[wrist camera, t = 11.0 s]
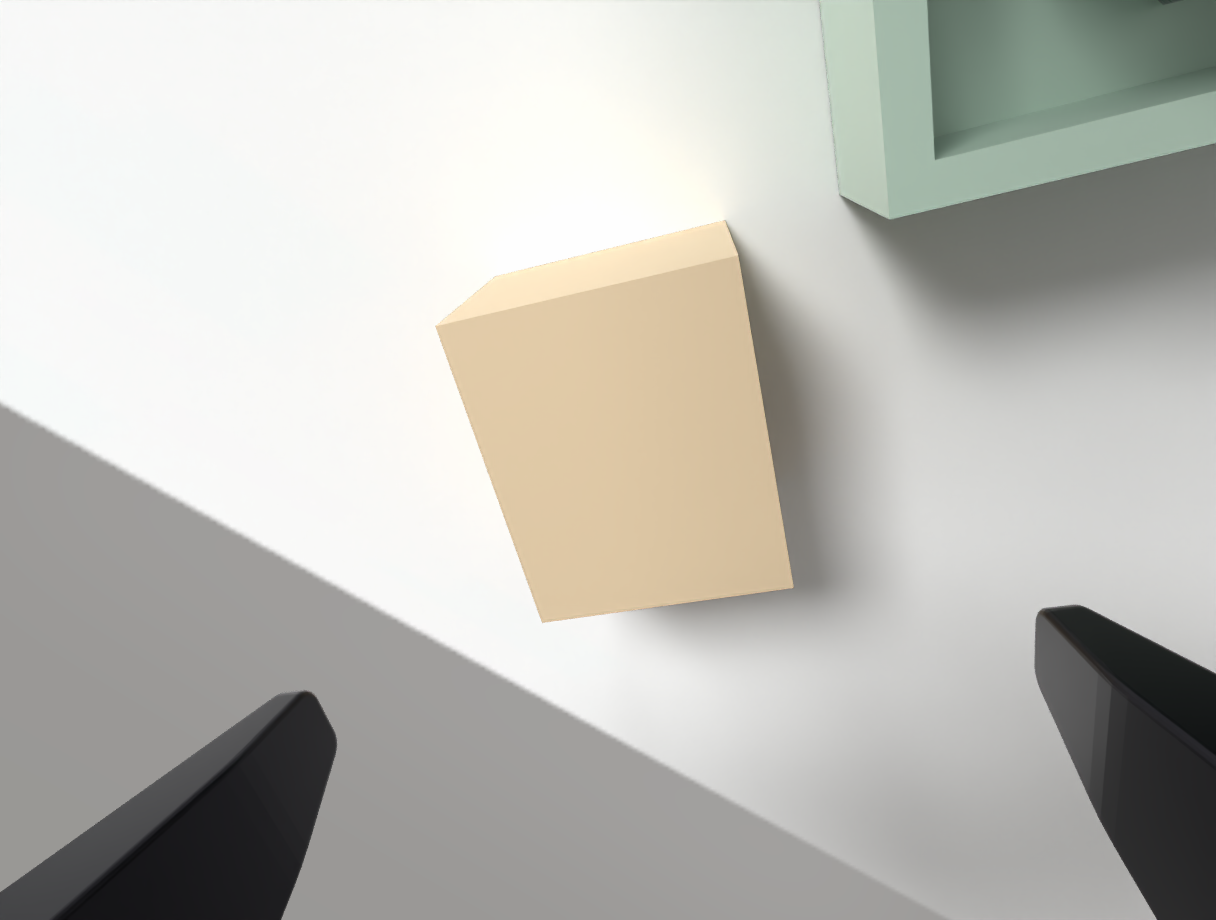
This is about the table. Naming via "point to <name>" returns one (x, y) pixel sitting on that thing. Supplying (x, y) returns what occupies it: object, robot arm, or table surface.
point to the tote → (1009, 93)
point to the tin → (1168, 1)
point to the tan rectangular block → (625, 425)
